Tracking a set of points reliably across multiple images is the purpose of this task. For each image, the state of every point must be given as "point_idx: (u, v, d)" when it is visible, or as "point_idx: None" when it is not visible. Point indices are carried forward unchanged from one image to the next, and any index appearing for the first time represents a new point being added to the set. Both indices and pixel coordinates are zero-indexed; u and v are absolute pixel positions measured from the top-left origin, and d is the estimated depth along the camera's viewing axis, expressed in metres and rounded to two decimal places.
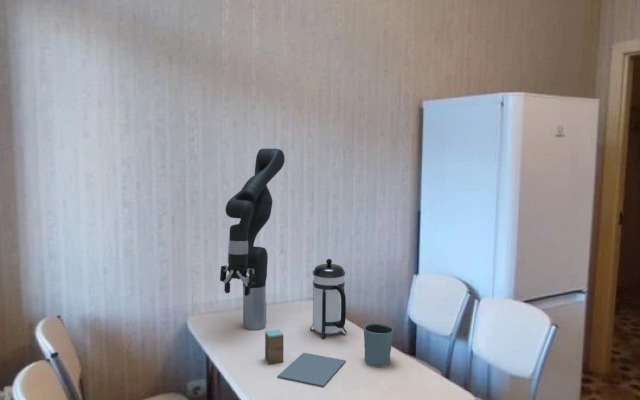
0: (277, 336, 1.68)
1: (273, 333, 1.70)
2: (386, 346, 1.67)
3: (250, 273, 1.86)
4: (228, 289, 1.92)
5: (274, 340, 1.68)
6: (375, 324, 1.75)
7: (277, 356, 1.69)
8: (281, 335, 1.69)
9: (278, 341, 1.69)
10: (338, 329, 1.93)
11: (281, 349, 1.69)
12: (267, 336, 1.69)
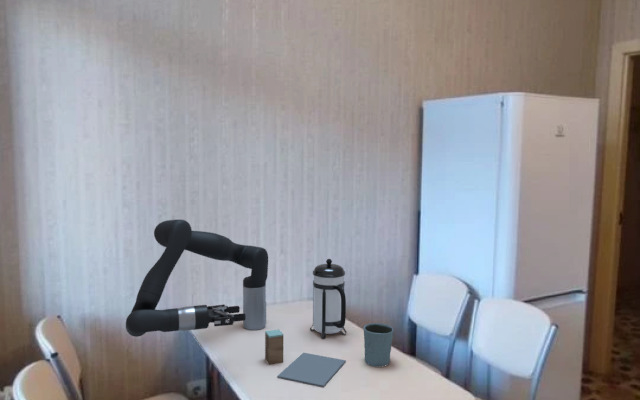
0: (277, 336, 1.68)
1: (273, 333, 1.70)
2: (386, 346, 1.67)
3: None
4: (235, 309, 1.68)
5: (274, 340, 1.68)
6: (375, 324, 1.75)
7: (277, 356, 1.69)
8: (281, 335, 1.69)
9: (278, 341, 1.69)
10: (338, 329, 1.93)
11: (281, 349, 1.69)
12: (267, 336, 1.69)
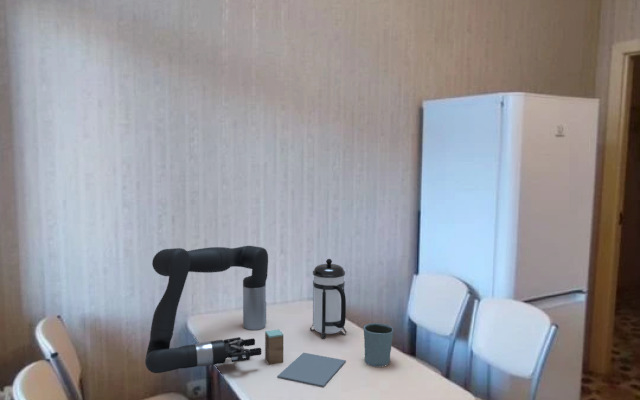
0: (277, 336, 1.68)
1: (273, 333, 1.70)
2: (386, 346, 1.67)
3: None
4: (251, 342, 1.72)
5: (274, 340, 1.68)
6: (375, 324, 1.75)
7: (277, 356, 1.69)
8: (281, 335, 1.69)
9: (278, 341, 1.69)
10: (338, 329, 1.93)
11: (281, 349, 1.69)
12: (267, 336, 1.69)
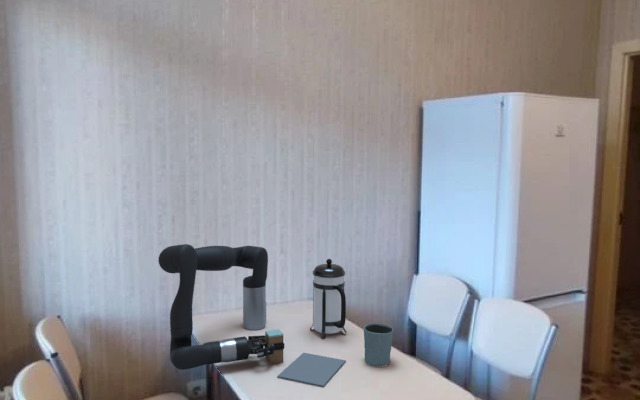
0: (277, 336, 1.68)
1: (273, 333, 1.70)
2: (386, 346, 1.67)
3: None
4: None
5: (274, 340, 1.68)
6: (375, 324, 1.75)
7: (277, 356, 1.69)
8: (281, 335, 1.69)
9: (278, 341, 1.69)
10: (338, 329, 1.93)
11: None
12: (267, 336, 1.69)
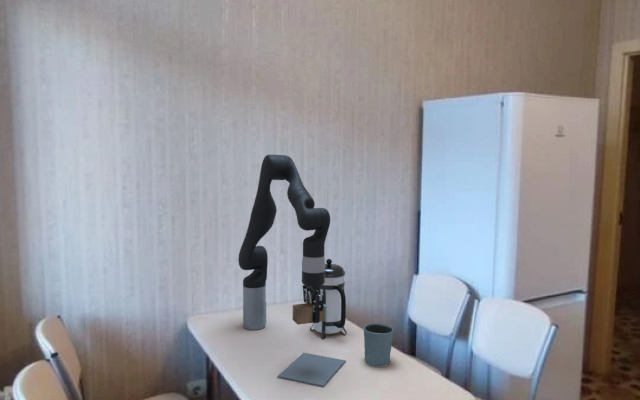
0: (325, 314, 1.62)
1: None
2: (386, 346, 1.67)
3: (316, 299, 1.56)
4: None
5: (321, 312, 1.61)
6: (375, 324, 1.75)
7: (304, 317, 1.59)
8: (325, 319, 1.62)
9: (320, 316, 1.61)
10: (338, 329, 1.93)
11: (311, 320, 1.60)
12: None
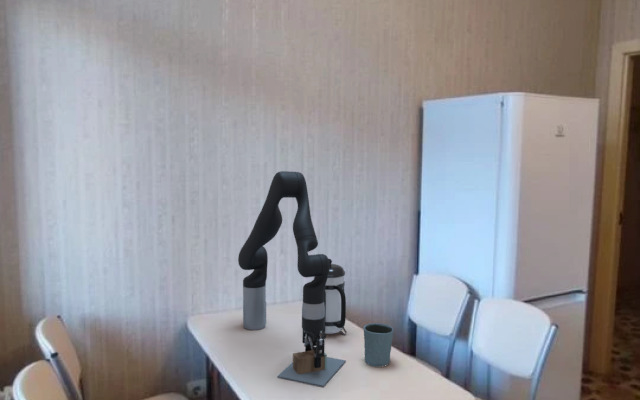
0: (325, 363, 1.63)
1: None
2: (386, 346, 1.67)
3: (316, 344, 1.57)
4: None
5: (321, 360, 1.63)
6: (375, 324, 1.75)
7: (304, 367, 1.61)
8: (325, 367, 1.64)
9: None
10: (338, 329, 1.93)
11: (311, 369, 1.62)
12: None
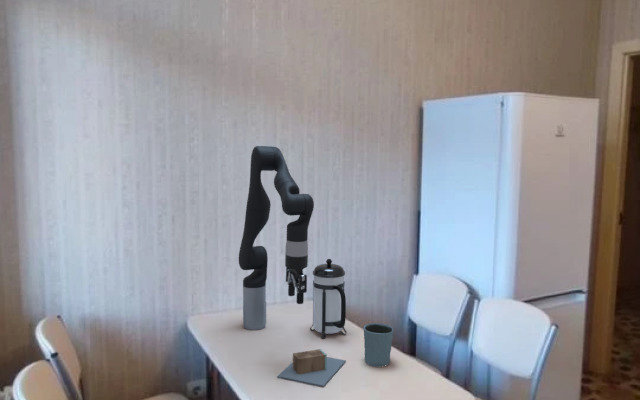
0: (325, 363, 1.63)
1: None
2: (386, 346, 1.67)
3: (299, 279, 1.61)
4: (291, 292, 1.72)
5: (321, 360, 1.63)
6: (375, 324, 1.75)
7: (304, 367, 1.61)
8: (325, 367, 1.64)
9: (320, 365, 1.63)
10: (338, 329, 1.93)
11: (311, 369, 1.62)
12: (321, 352, 1.65)
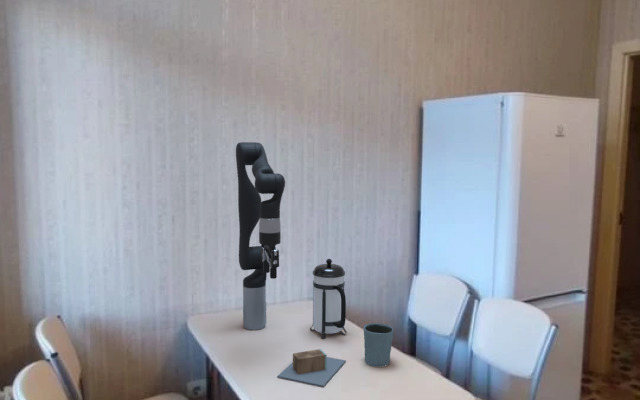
0: (325, 363, 1.63)
1: None
2: (386, 346, 1.67)
3: (271, 254, 1.69)
4: (266, 269, 1.79)
5: (321, 360, 1.63)
6: (375, 324, 1.75)
7: (304, 367, 1.61)
8: (325, 367, 1.64)
9: (320, 365, 1.63)
10: (338, 329, 1.93)
11: (311, 369, 1.62)
12: (321, 352, 1.65)
